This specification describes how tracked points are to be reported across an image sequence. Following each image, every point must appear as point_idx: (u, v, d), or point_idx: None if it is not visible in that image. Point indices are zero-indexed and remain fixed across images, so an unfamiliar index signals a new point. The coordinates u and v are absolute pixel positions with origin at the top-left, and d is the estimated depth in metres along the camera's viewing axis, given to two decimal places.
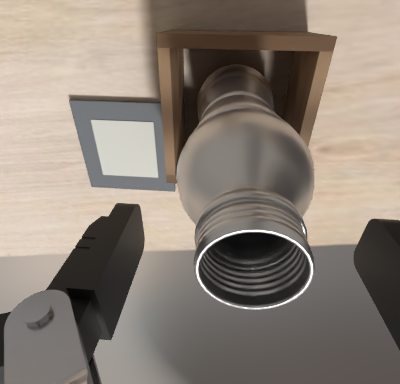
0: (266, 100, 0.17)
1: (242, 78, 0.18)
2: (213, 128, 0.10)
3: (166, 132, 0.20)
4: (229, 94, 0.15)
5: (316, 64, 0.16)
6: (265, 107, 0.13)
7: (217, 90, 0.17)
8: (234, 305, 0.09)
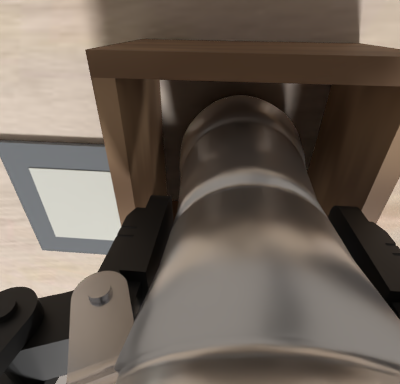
0: (304, 180, 0.08)
1: (255, 129, 0.10)
2: None
3: (124, 214, 0.12)
4: (232, 179, 0.07)
5: None
6: (333, 262, 0.05)
7: (209, 155, 0.09)
8: None
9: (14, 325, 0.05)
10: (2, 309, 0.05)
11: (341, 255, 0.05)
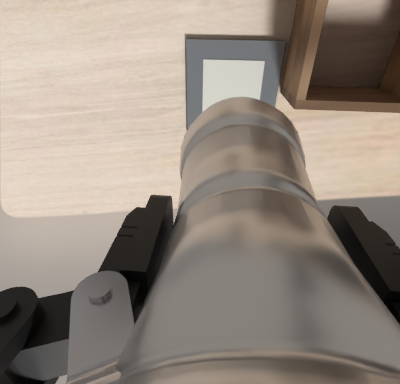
0: (304, 182, 0.08)
1: (255, 130, 0.10)
2: None
3: (309, 52, 0.21)
4: (232, 181, 0.07)
5: None
6: (332, 265, 0.05)
7: (209, 157, 0.09)
8: None
9: (14, 325, 0.05)
10: (2, 309, 0.05)
11: (340, 257, 0.05)
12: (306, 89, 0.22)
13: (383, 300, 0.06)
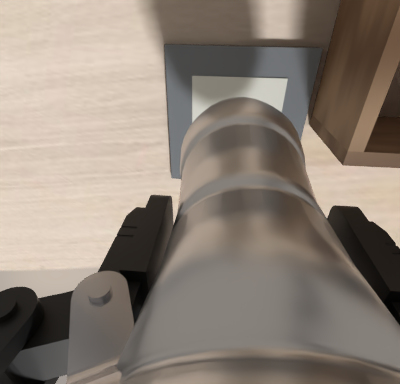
0: (304, 182, 0.08)
1: (255, 131, 0.10)
2: None
3: (382, 72, 0.11)
4: (232, 182, 0.07)
5: None
6: (332, 265, 0.05)
7: (209, 157, 0.09)
8: None
9: (14, 325, 0.05)
10: (2, 309, 0.05)
11: (340, 258, 0.05)
12: (367, 135, 0.13)
13: (383, 300, 0.06)
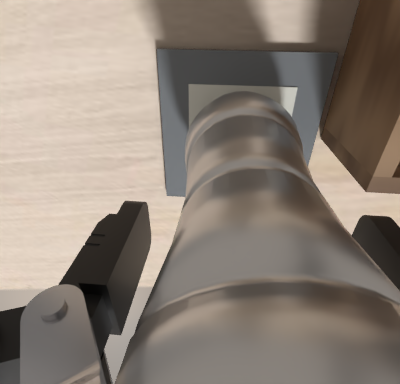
0: (303, 166, 0.09)
1: (257, 120, 0.11)
2: None
3: None
4: (238, 163, 0.08)
5: None
6: (327, 226, 0.05)
7: (215, 144, 0.10)
8: None
9: None
10: None
11: (335, 223, 0.06)
12: (398, 158, 0.11)
13: None
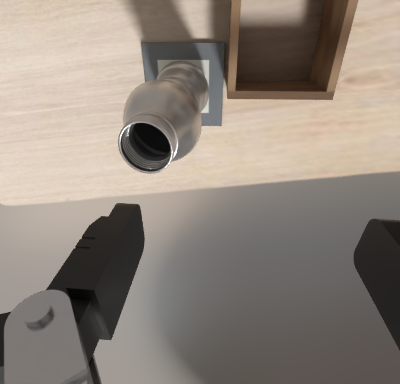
0: (191, 81, 0.26)
1: (179, 68, 0.27)
2: (138, 89, 0.19)
3: (232, 51, 0.25)
4: (164, 77, 0.24)
5: None
6: (177, 81, 0.22)
7: (160, 76, 0.26)
8: (142, 171, 0.17)
9: None
10: None
11: (183, 83, 0.22)
12: (234, 82, 0.27)
13: None
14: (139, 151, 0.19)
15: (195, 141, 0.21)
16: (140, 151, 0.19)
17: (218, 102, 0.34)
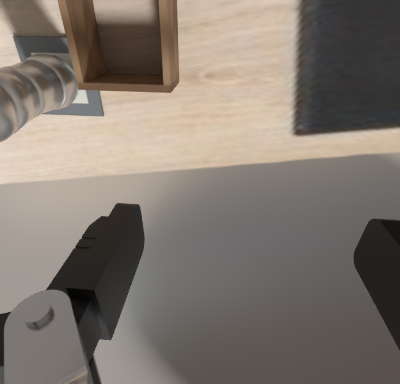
0: (33, 72, 0.28)
1: (30, 60, 0.30)
2: None
3: (70, 45, 0.28)
4: None
5: None
6: None
7: None
8: None
9: None
10: None
11: (5, 74, 0.25)
12: (80, 74, 0.29)
13: None
14: None
15: (4, 125, 0.23)
16: None
17: (95, 94, 0.37)
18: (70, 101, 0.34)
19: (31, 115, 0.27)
